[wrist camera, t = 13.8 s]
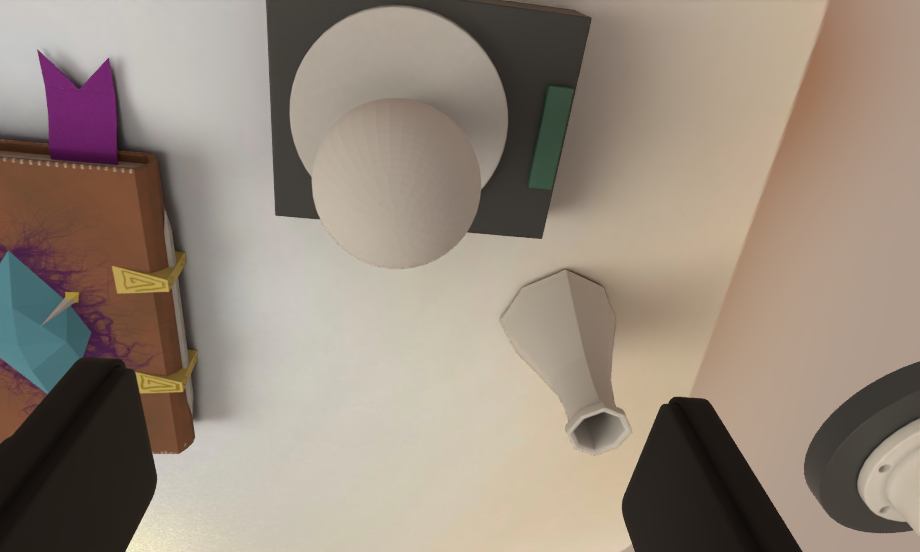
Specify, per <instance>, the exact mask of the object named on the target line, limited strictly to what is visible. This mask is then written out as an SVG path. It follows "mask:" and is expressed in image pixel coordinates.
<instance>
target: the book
mask: <svg viewBox="0 0 920 552" xmlns="http://www.w3.org/2000/svg"><path fill="white" fill-rule="evenodd" d="M37 51H38V55H39V60H40V65H41V70H42V74H43V79H44V84H45V89H46V98H47V107H48V116H49V144H48V143H38V142H27V141H16V140H6V139H0V444H1V443H2V442H3V441H4V440H5V439H6V438H8V437H10V436H12V435H13V434H14V433H15V431H16V430H17V429H18V428H19V427H20V426H21V424H22V423H23V422H24V421H25V420H26V419H27V417H28V416H29V415H30V414H31V413H32V412H33V411H34V409H35V408H36V407H37V406H38V405H39V404H40V402H41V401H42V400H43V399H44V398H45V397H46V395H47V394H48V393H49V392H50V391H51V390H52V389H53V387H54V386H55V385H56V384H57V383H58V382H59V380H60V379H61V378H62V377H63V376H64V375H65V373H66V372H67V371H68V370H69V369H70V368H71V367H72V365H73V364H74V363H75V362H76V361H77V360H78V359H79V358H82V357H99V358H114V359H121V360H122V361H123V362H124V363H125V365H126V368H131V369H133V370H134V371H135V373H136V377H137V382H138V387H139V392H140V396H141V401H142V406H143V411H144V416H145V421H146V425H147V430H148V435H149V440H150V445H151V450H152V454H179V453H181V452H182V451H184V450H185V449H187V448H188V447H189V446H190V445H191V444H192V443H193V441H194V439H195V433H194V426H193V418H192V416H193V389H192V382H191V373H192V371H193V369H194V366H195V364H196V362H197V359H198V358H197V350H189V349H187V343H186V335H185V328H184V320H183V312H182V304H181V297H180V289H179V281H178V276H179V274H180V273H181V271H182V269H183V268H184V266H185V264H186V258H185V252H180V251H175V250H174V243H173V235H172V228H171V225H170V222H169V219H168V216H167V213H166V210H164V202H163V195H162V188H161V180H160V173H159V165H158V160H157V158H156V157H155V156H154V155H153V154H152V153H144V152H133V151H123V150H117V112H116V96H115V89H114V84H113V79H112V73H111V68H110V62H109V58H108V59H107V60H106V61H105V62H104V63H103V64H102V65H101V67H100V68H99V69H98V70H97V71H96V72H95V73H94V74H93V75H92V76H91V77H90V78H89V79H88V81H87V82H86V83H85V84H84V85H83V86H82V87H81V88H80V89H79V88H78V87H77V86H76V85H75V84H74V83H73V82H72V81H70V80H69V79H68V78H67V77H66V76H65V75H64V74H63V73H62V72H61V71H60V70H59V69H58V68H57V67H56V66H55V65H53V64H52V63H51V62H50V61H49V60H48V59H47V58H46V57H45V56H44V55H43V54H42V53H41V52H40V51H39V50H38V49H37Z"/></svg>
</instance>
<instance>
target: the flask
mask: <svg viewBox="0 0 920 552" xmlns="http://www.w3.org/2000/svg"><path fill="white" fill-rule="evenodd" d="M500 323H501V325H502V326H503V328H504V330H505V332H506V334H507V336H508V338H509V340H510V342H511V343H512V345H513V347H514V349H515V351H516V353H517V354H518V355H519V356H520V357H521V358H522V359H523V360H524V361H525V362H526V363H527V364H528V365H529V366H530V367H531V368H532V369H533V370H534V371H535V372H536V373H537V374H538V375H539V376H540V378H541V379H542V380H543V381H544V382H545V383H546V384H547V385H548V386H549V388H550V389H551V390H552V391H553V392H554V393H555V394H556V395H557V397H558V398H559V400H560V402H561V403H562V405H563V407H564V409H565V412H566V415H567V418H568V423H567V424H566V426H565V431H566V433H567V435H568V437H569V439H570V441H571V443H572V445H573V447H574V449H576V450H579V451H582V452H585V453H588V454H590V455H593V456H596V455H598V454H601V453H604V452H607V451H610V450H612V449H615V448H618V447H619V446H620V445H621V443H622V442H623V441H624V440H625V439H626V438H627V437H628V436H629V435H630V434H631V433H632V429H631V426H630V424H629V422H628V419H627V417H626V415H625V412H624V411H623V410H622V409H620V408H618V407H616V405H615V402H614V396H613V390H612V384H611V370H612V353H613V344H614V336H615V327H616V319H615V316H614V314H613V311H612V308H611V306H610V303H609V301H608V298H607V296H606V293H605V290H604V288H603V287H602V286H600V285H598V284H596V283H594V282H591V281H589V280H587V279H585V278H583V277H581V276H578V275H576V274H574V273H572V272H570V271H568V270H564V271H561V272H559V273H557V274H554V275H552V276H549V277H547V278H545V279H542V280H540V281H537V282H535V283H533V284H530V285H528V286H525V287H523V288H522V290H521V291H520V292H519V294H518V295H517V297H516V298H515V300H514V301H513V303H512V304H511V306H510V307H509V309H508V310H507V312H506V313H505V314H504V316H503V317H502V319H501V320H500Z"/></svg>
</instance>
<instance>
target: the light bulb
mask: <svg viewBox="0 0 920 552" xmlns="http://www.w3.org/2000/svg"><path fill="white" fill-rule="evenodd" d="M312 191H313V199H314V203H315V207H316V210H317V213H318V215H319V217H320V220H321V222H322V224H323V225H324V227H325V228H326V230H327V232H328V233H329V235H330V236H331V237H332V238H333V239H334V240H335V241H336V243H337V244H338V245H339V246H341V247H342V248H343V249H344V250H345V251H347V252H348V253H349V254H351V255H353V256H354V257H356V258H357V259H360V260H362V261H364V262H366V263H368V264H372V265H375V266H378V267H384V268H390V269H404V268H413V267H417V266H421V265H425V264H427V263H429V262H432V261H434V260H436V259H438V258H440V257H441V256H443V255H445V254H446V253H447V252H449V251H450V250H451V249H452V248H453V247H455V246H456V245H457V244H458V242H459V241H460V240H461V239H462V238H463V237H464V236H465V234H466V232H467V231H468V229H469V228H470V226H471V224H472V222H473V220H474V218H475V215H476V213H477V209H478V205H479V201H480V194H481V175H480V168H479V164H478V160H477V157H476V154H475V152H474V150H473V147H472V145H471V143H470V141H469V140H468V138H467V137H466V135H465V134H464V132H463V131H462V130H461V129H460V128H459V127H458V125H457V124H456V123H455V122H454V121H453V120H451V119H450V118H449V117H448V116H446V115H445V114H444V113H443V112H441V111H439V110H437V109H436V108H434V107H432V106H430V105H427V104H425V103H422V102H419V101H415V100H410V99H405V98H387V99H378V100H375V101H371V102H368V103H365V104H363V105H361V106H359V107H356V108H354V109H352V110H351V111H350V112H348V113H347V114H345V115H344V116H343V117H341V118H340V119H339V120H338V121H337V122H336V123H335V124H334V125H333V126H332V127H331V129H330V130H329V131H328V133H327V134H326V136H325V137H324V139H323V140H322V142H321V145H320V147H319V149H318V151H317V154H316V157H315V161H314V165H313V172H312Z"/></svg>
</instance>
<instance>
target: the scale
mask: <svg viewBox="0 0 920 552" xmlns="http://www.w3.org/2000/svg"><path fill="white" fill-rule="evenodd" d="M266 9H267V32H268V56H269V79H270V102H271V125H272V148H273V171H274V195H275V214H276V216H287V217H298V218H310V219H320V217H319V215H318V213H317V210H316V207H315V203H314V199H313V191H312V172H313V165H314V161H315V157H316V154H317V151H318V149H319V147H320V145H321V142H322V140H323V139H324V137H325V136H326V134H327V133H328V131H329V130H330V129H331V127H332V126H333V125H334V124H335V123H336V122H337V121H338V120H339V119H340V118H341V117H343V116H344V115H345V114H347V113H348V112H350V111H351V110H352V109H354V108H356V107H359V106H361V105H363V104H365V103H368V102H371V101H375V100H378V99H387V98H405V99H410V100H415V101H419V102H422V103H425V104H427V105H430V106H432V107H434V108H436V109H437V110H439V111H441V112H443V113H444V114H445V115H446V116H448V117H449V118H450V119H451V120H453V121H454V122H455V123H456V124H457V125H458V127H459V128H460V129H461V130H462V131H463V132H464V134H465V135H466V137H467V138H468V140H469V141H470V143H471V145H472V147H473V150H474V152H475V154H476V157H477V160H478V164H479V168H480V175H481V194H480V201H479V205H478V209H477V213H476V215H475V218H474V220H473V222H472V224H471V226H470V228H469V229H468V231H467V232H469V233H480V234H492V235H503V236H514V237H526V238H537V239H542V236H543V232H544V227H545V223H546V219H547V214H548V210H549V205H550V201H551V196H552V192H553V188H554V183H555V179H556V174H557V170H558V165H559V161H560V157H561V152H562V148H563V143H564V139H565V134H566V130H567V126H568V121H569V117H570V112H571V108H572V103H573V99H574V95H575V90H576V86H577V81H578V77H579V72H580V68H581V64H582V59H583V55H584V50H585V46H586V41H587V37H588V33H589V28H590V24H591V17H589V16H586V15H584V14H582V13H580V12H577V11H575V10H568V9H561V8H554V7H546V6H539V5H532V4H525V3H518V2H510V1H503V0H266Z"/></svg>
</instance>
